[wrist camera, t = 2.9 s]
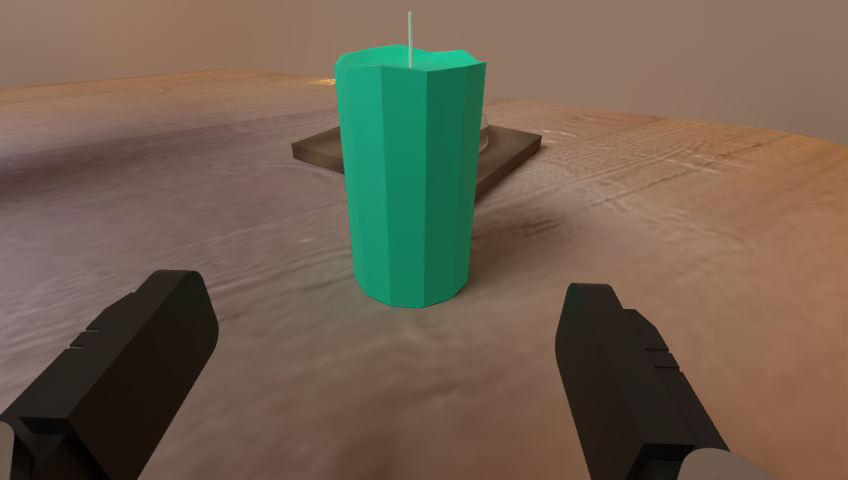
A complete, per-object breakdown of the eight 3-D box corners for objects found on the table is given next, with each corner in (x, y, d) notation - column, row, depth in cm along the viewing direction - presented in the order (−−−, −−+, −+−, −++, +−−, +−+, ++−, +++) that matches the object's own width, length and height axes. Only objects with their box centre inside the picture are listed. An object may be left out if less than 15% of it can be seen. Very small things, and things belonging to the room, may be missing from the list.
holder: (293, 157, 35) (287, 121, 33) (395, 117, 45) (394, 87, 43) (461, 211, 28) (464, 168, 26) (539, 148, 37) (545, 114, 36)
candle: (452, 320, 19) (471, 23, 13) (333, 292, 21) (295, 15, 14) (479, 249, 24) (503, 8, 17) (381, 231, 25) (370, 3, 19)
